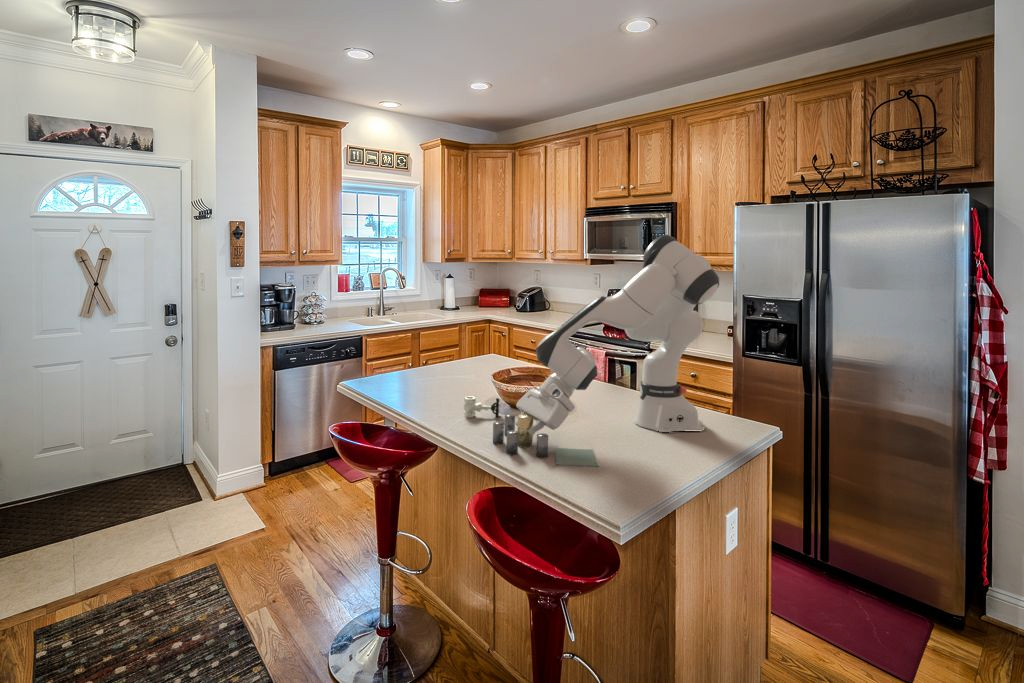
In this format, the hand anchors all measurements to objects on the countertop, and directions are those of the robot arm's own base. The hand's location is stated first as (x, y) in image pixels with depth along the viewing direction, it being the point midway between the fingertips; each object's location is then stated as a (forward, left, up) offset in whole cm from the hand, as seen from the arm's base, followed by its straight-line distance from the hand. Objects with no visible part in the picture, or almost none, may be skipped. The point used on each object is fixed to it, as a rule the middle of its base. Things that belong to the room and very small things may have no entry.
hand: (523, 429), depth 156 cm
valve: (+15, -27, -5) cm, 31 cm away
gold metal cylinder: (-1, 0, -5) cm, 5 cm away
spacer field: (+2, +1, -5) cm, 5 cm away
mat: (-15, +9, -5) cm, 18 cm away
